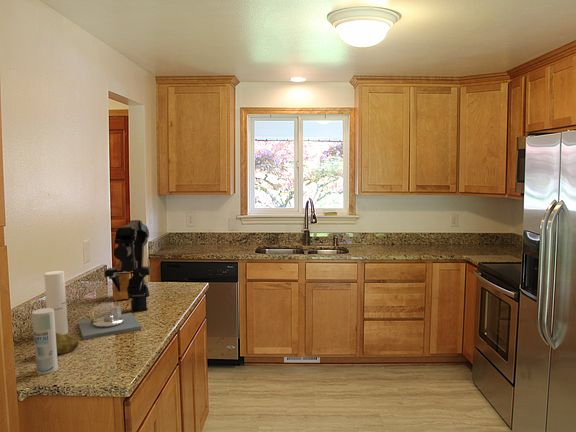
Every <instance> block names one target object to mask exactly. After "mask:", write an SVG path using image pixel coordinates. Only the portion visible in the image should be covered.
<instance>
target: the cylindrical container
mask: <svg viewBox="0 0 576 432" xmlns="http://www.w3.org/2000/svg"><path fill="white" fill-rule="evenodd" d="M43 274H44V276H43V278H44V289H45V290H44V291H45V302H46V308H52V309H54V318H55V332H56V333H59V334H63V335H67V334H69V323H68V309H67V298H66V297H67V296H66V282H65V280H66V279H65V271H63V270H53V271H52V270H51V271H47V272H44V273H43Z"/></svg>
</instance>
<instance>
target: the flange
mask: <svg viewBox="0 0 576 432" xmlns="http://www.w3.org/2000/svg"><path fill="white" fill-rule="evenodd" d="M109 309H110V313H107V314H103V316H102V318H101V317H98V318H99V319H96V320H95V321H94V322H93V325H94V326H96V327H111V326H116V325H119V324H121V323H123V322H124V318H123V317H121V314H122V305H120V304H119V305H118V304H116V305H115V304H113V306H111V307H109Z"/></svg>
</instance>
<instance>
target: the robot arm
mask: <svg viewBox="0 0 576 432" xmlns="http://www.w3.org/2000/svg"><path fill="white" fill-rule="evenodd" d="M149 237H150V232H149V228H148V226H147V225H146V224H144V223H143V221H142V220H140V219H139V220H135V219H134V220H130V221H129V222H128V223H127V224H126V225H124V226H118V227H117V229H116V231H115V237H114V245H117V247H115V248H114V250H113V256H114V258H115V259H116V260H118V261H119V260H120V262H121V270H117V268H115V267H108V268H107V269H106V270H104V277H105V278H108V279H110V280H111V282H112V281H113V282H114V284H115V286H116V288H117V289H118V291H119V292H120V283H119V274H131V275H132V276H131V278H130V279H129V285H128V286H127V292H128V298H129V299H131V300H129V303H130V310H131V311H132V312H133V313H137V312H143V311H148V310H149V309H148V308H147V307H148V305H147V298H148V297H150V290H149V287H148V285H147V281H146V280H145V278H146V277H148V276H150V275H151V274H152V271H153V270H152V266H144V252H145V251H144V250H145V246H146V244H147V243H148V239H149ZM124 271H127V272H124ZM117 274H118V275H117Z"/></svg>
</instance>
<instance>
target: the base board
mask: <svg viewBox="0 0 576 432" xmlns="http://www.w3.org/2000/svg"><path fill="white" fill-rule="evenodd" d="M102 317H103V316H102ZM102 317H95V312H94V311H89V319H82V320H78V321H77V322H78V327H79V331H80V334H81V337H82V340H83V341H85V340H90V339H94V338H95V339H96V338H100V337H101V338H102V337H107V336H112V335H118V334H124V333H130V332H136V331H141V330H142V326H141V324H140V323H139V321H138V320H137V318H136V317H135V316H134V314H133V313H132V312H126V313H121V317H123V318H124V322H123V323H121V324H119V325H116V326H111V327H96V326H94V325H93V322H94V321H95V320H96V319H99V318H102Z"/></svg>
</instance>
